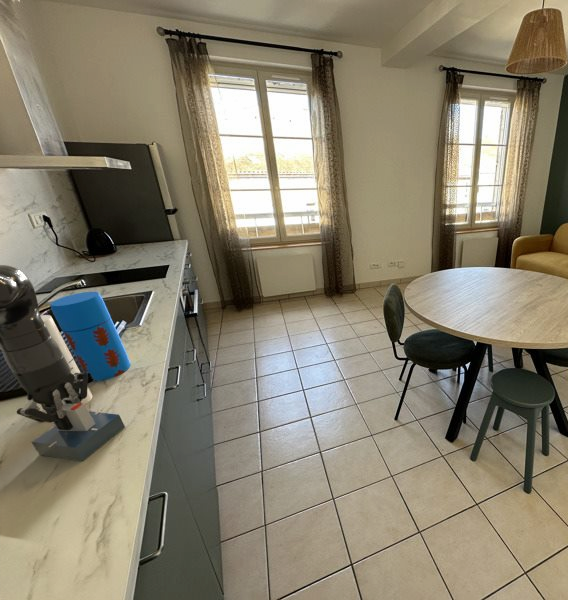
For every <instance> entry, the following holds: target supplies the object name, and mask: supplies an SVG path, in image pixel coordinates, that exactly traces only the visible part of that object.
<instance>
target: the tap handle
mask: <svg viewBox="0 0 568 600" xmlns="http://www.w3.org/2000/svg"><path fill="white" fill-rule="evenodd" d="M62 408H63V411H64V414H65V415H67V417H68V419H69V420H70V422H71V424H72V426H73V428H72V429H70V430H59V429H58V428H57V426H56V425H55V423H54V422H52V424H53V425H54V426H55V427H56V428H57V430H58V431H87V430H89V429H90V428H91V427H92V426H93V425H95V422H94V420H93V419H92V417H91V415H90V413H89V409H88V407H87V405H86V404H83V403H78V404H63V407H62Z"/></svg>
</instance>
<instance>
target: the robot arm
mask: <svg viewBox="0 0 568 600" xmlns="http://www.w3.org/2000/svg"><path fill="white" fill-rule="evenodd" d="M0 350H1V353H2V355H3V357H4V360H5V362H6V364H7V366H8V367H9V368H10V370H11V372H12V374H13V375H14V377H15V379H16V381H18V383H19V385H20V387H21V388H22V389H23V390H24V391H25V392H26V393H27V397H26V399H27V402H26V403H25V405H24V406H23V407H20V408H18V409H17V410H16V414H17V415H19V416H21V417H25V418H28V419H30V420H32V421H35V422H38V423H53V422H54V423H55V425H56V426H57V428H58V429H59V430H70V429H72V428H73V426H72V424H71V422H70V420H69V419H68V417H67V415H65V414H64V411H63V408H62V407H63V403H62V401H63V402H64V403H65V404H78V403H81V401H82V400H83V399H85V398H86V397H87V388H89V379H88V373H84V372H80V373H75V374H73V373H71V369H70V367H69V365H68V363H67V361H66V359H65V357H64V356H63V354H62V352H61V350H60V348H59V346H58V344H57V343H56V342H55V340H54V339H53V338H52V336H51V335H50V333H49V331H48V329H47V327H46V325H45V323H44V322H43V320H42V319H41V313H40V306H39V302H38V298H37V293H36V290H35V287H34V285H33V283H32V281H31V279H30V278H29V277H28V276H27V275H26V274H25V273H24V272H23V271H21V269H18V268H16V267H14V266H12V265H11V266H10V265H7V264H6V265H5V264H0ZM79 392H80V393H79ZM37 404H40V406H41V408H42V409H43V411H41V410H40V409H41V408H40V407H39V406H38V405H37ZM44 411H45V412H44ZM54 423H53V424H54ZM55 425H54V426H55Z"/></svg>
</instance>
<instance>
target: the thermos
mask: <svg viewBox="0 0 568 600" xmlns="http://www.w3.org/2000/svg"><path fill="white" fill-rule="evenodd" d="M49 306H50V309H51V312H52V314H53V316H54V318H55V320H56V322H57V323H58V326H59V327H60V330H61V331H62V333H63V335H64V337H65V339H66V341H67V342H68V344H69V347H70V348H71V350H72V352H73V354H74V356H75V358H76V360H77V362H78V364H79V366H80V368H81V370H82V371H83V373H84V372H86V373H90V374H91V376H92V379H93V380H94V381H93V382H101V381H100V380H103V381H106V380H110V379H112V378H115V377H117V376H119V375H121V374H123V373H125V372H126V371H127V370H129V368H130V367H131V362H130V358H129V356H128V354H127V351H126V348H125V346H124V344H123V342H122V340H121V337H120V335H119V333H118V331H117V329H116V326H115V324H114V321H113V319H112V317H111V314H110V312H109V310H108V307H107V305H106V303H105V301H104V299H103V297H102V295H101V294H100V292H98V291H83V292H78V293H73V294H69V295H65V296H62V297H59V298H57V299H54V300H52V301H51V302H50V303H49ZM105 379H106V380H105Z"/></svg>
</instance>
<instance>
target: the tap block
mask: <svg viewBox="0 0 568 600" xmlns="http://www.w3.org/2000/svg"><path fill="white" fill-rule="evenodd" d="M88 411H89V410H88ZM102 411H103V410H102V409H100V410H98V411H91V410H90V411H89V413H90V415H91V417H92V419H93V420H94V422H95V425H93V426H92V427H91V428H90V429H89V430H87V431H58V430H57V428H56V427H55V425H54V426H53V427H51V428H50V429H48V430H47V431H45V432H44V433H42V434H41V435H39V436H38V437H36V438H34V439H33V440H31V442H30V443H31V444H32V446H33V448H34V449H35V450H36V452H37V454H38V455H39V456H43V457H51V458H58V459H64V460H72V461H77V462H84V461H85V460H86V459H88V458H89V457H90V456H91V455H93V454H94V453H95V452H96V451H98V450H99V449H100V448H101V447H103V446H104V445H105V444H107V443H108V442H109V441H110V440H111V439H112V438H114V437H115V436H116V435H117V434H118V433H120V432H121V431H122V430H124V429H125V428H126V426H125V423H124V422H123V420H122V418H121V415H120V414H116V413H109V412H108V413H107V412H102Z"/></svg>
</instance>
